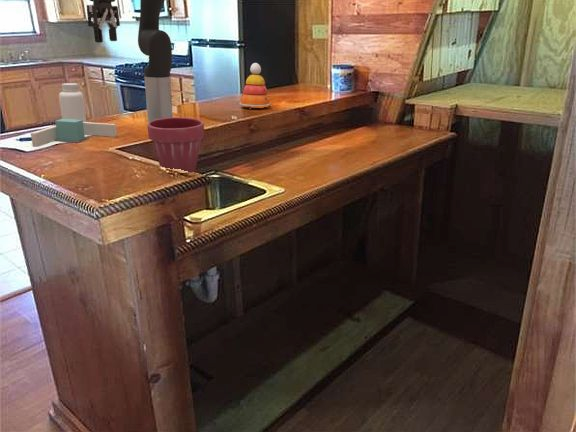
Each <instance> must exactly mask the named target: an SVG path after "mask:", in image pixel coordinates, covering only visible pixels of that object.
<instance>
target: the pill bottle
mask: <svg viewBox="0 0 576 432" xmlns="http://www.w3.org/2000/svg"><path fill="white" fill-rule="evenodd" d="M61 90H62V91H60V92H59V95H58V100H59V108H60V114H61V119H75V120H83V122H87V116H86V115H87V114H86V109H85V99H84V94H83V92H81V91H80V90H79V84H78V83H76V82H72V83H71V82H69V83H67V82H66V83H62V84H61Z"/></svg>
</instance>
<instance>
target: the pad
mask: <svg viewBox="0 0 576 432" xmlns="http://www.w3.org/2000/svg"><path fill="white" fill-rule="evenodd" d="M89 139H90V138H89V137H87V136H85V139H82V140H80V141H70V140H58V139H56V140H54V141H53V142H63V143H64V142H65V143H76V144H77V143H81V142H84V141H86V140H89Z"/></svg>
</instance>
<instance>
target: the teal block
mask: <svg viewBox="0 0 576 432" xmlns="http://www.w3.org/2000/svg"><path fill="white" fill-rule="evenodd" d="M54 123H55V125H56V129H57V136H58V140H70V141H80V140H82V139H85V137H86V135H84V127H83V120H75V119H62V118H60V119H57V120H55V121H54Z"/></svg>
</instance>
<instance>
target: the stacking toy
mask: <svg viewBox="0 0 576 432" xmlns="http://www.w3.org/2000/svg"><path fill="white" fill-rule="evenodd" d="M249 70H250V73H251V74H250V75H249V76H248V77H247V78H246V80H245V86H244V88H243V90H242V91H243V92H242V93H243V94H242V96H241V98H240V102H239V106H240V105H243V106H251V107H257V106H267V105H270V104H271V105H272V103H271V102H270V98H269V96H268V89H267V87H266V81H265V79H264V77H263V76H262V75H260V73H261V72H262V67H261V65H260V64H259V63H257V62H253V63H252V64H251V65H250V68H249ZM271 105H270V106H271Z"/></svg>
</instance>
